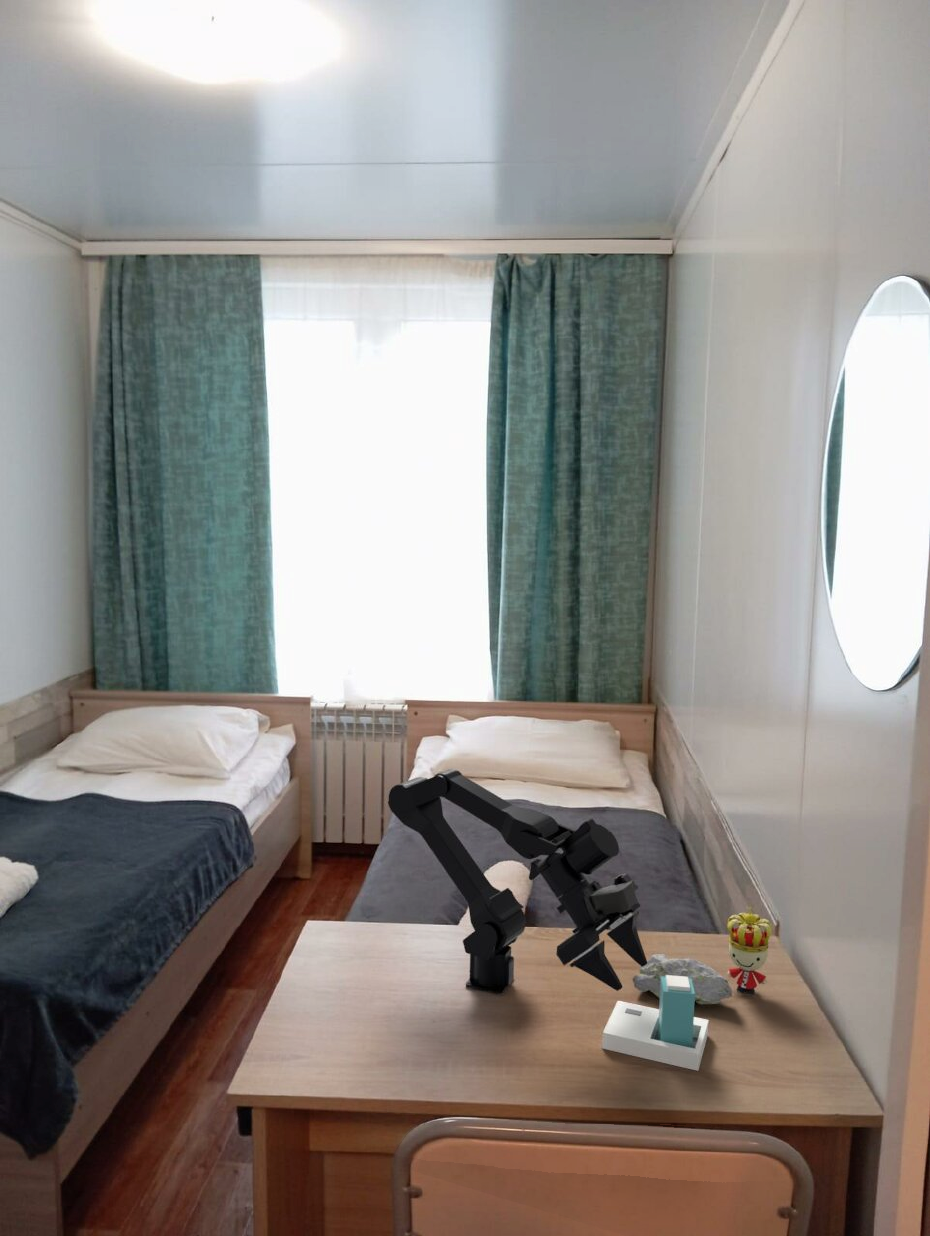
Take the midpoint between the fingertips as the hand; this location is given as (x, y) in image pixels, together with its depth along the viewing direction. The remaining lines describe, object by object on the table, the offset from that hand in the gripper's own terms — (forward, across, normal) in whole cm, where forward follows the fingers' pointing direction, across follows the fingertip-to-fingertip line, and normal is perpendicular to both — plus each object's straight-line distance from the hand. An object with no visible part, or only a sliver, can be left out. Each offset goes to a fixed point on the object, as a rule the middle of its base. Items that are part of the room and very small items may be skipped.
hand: (632, 976), depth 145 cm
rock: (+8, +15, +5) cm, 18 cm away
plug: (+11, 0, +1) cm, 11 cm away
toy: (+14, +23, -1) cm, 27 cm away
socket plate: (+9, 0, +3) cm, 10 cm away
